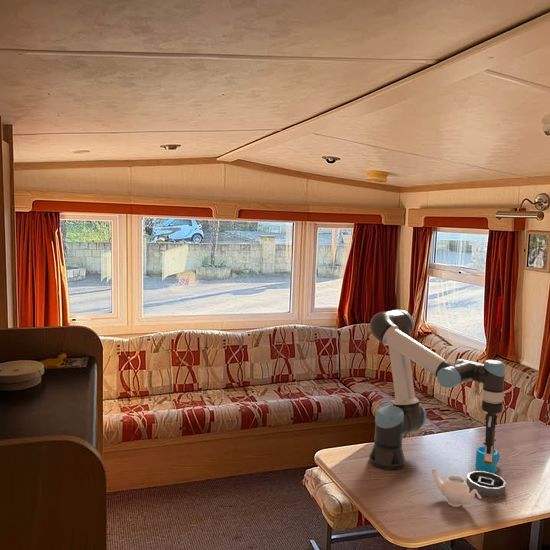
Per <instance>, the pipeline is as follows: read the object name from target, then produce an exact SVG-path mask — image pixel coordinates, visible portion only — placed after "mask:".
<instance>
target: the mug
mask: <svg viewBox="0 0 550 550" xmlns="http://www.w3.org/2000/svg"><path fill="white" fill-rule="evenodd" d="M475 453H476V454H475V467H476V468H475V470H476V471H478V470H479V471H485V472H489V473H494V474H496V472H497V464H498V462H499V461H500V454H499V451H497V450H496V449H494V457H493V465H488V464H484V457H485V446H478V447H476V452H475Z"/></svg>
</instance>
